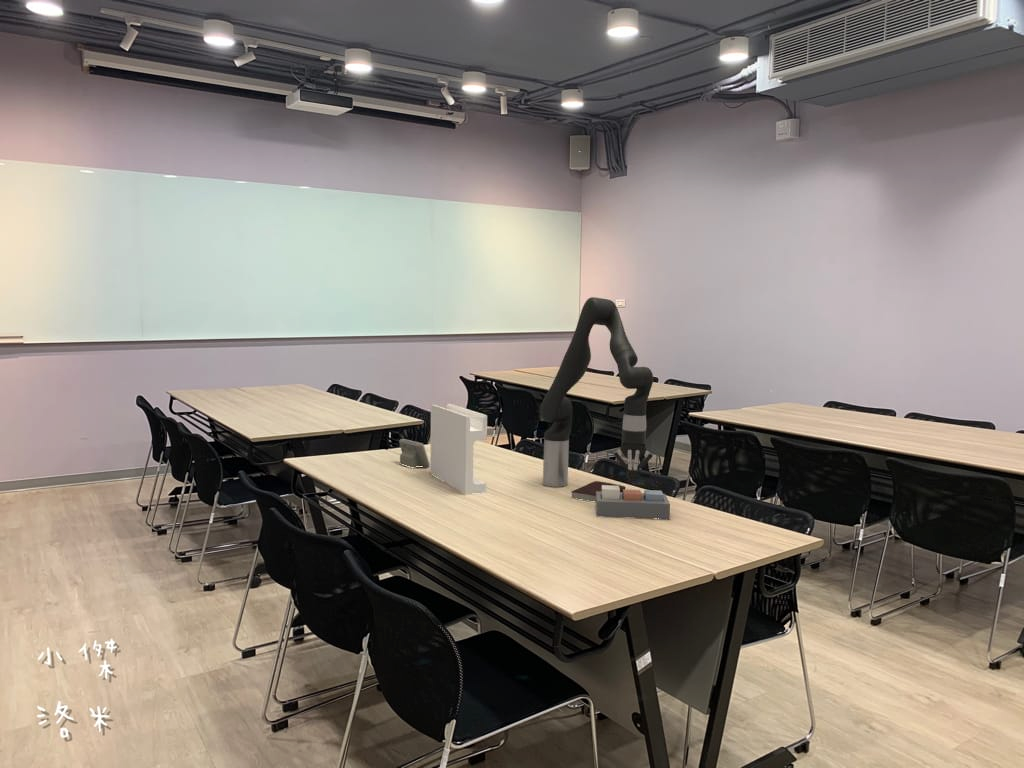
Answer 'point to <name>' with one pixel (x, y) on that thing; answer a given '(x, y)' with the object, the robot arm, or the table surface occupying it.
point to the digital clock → (413, 453)
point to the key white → (610, 492)
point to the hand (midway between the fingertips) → (631, 480)
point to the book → (591, 490)
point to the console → (632, 507)
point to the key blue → (653, 495)
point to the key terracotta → (631, 494)
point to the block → (456, 446)
